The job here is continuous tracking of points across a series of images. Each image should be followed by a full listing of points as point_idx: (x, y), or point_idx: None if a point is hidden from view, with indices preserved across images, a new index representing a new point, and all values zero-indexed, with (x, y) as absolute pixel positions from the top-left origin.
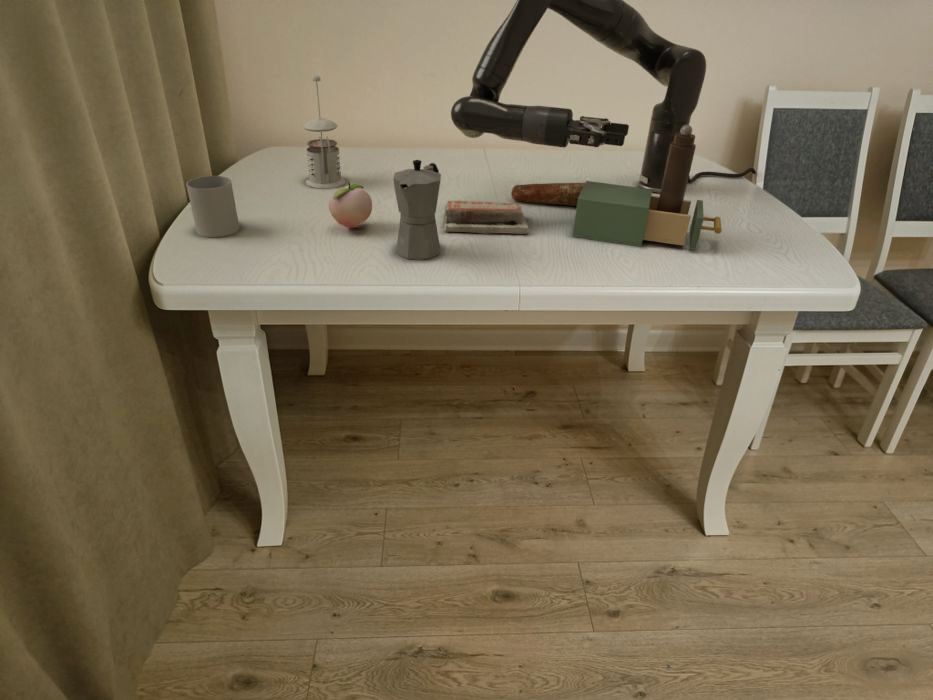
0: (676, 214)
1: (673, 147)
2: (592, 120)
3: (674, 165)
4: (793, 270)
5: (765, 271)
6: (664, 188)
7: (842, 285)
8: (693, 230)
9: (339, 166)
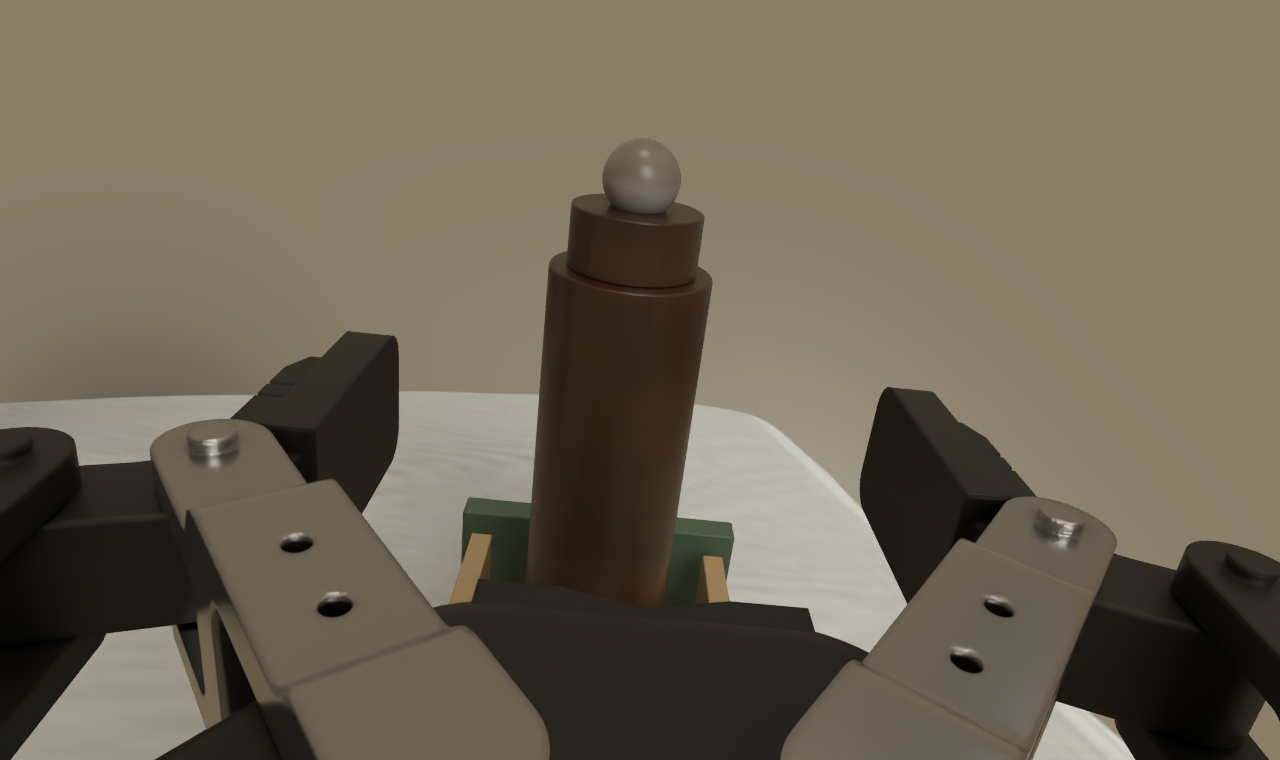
0: (728, 600)
1: (688, 306)
2: (414, 593)
3: (691, 402)
4: (701, 467)
5: (749, 514)
6: (649, 556)
7: (742, 420)
8: (687, 599)
9: None
